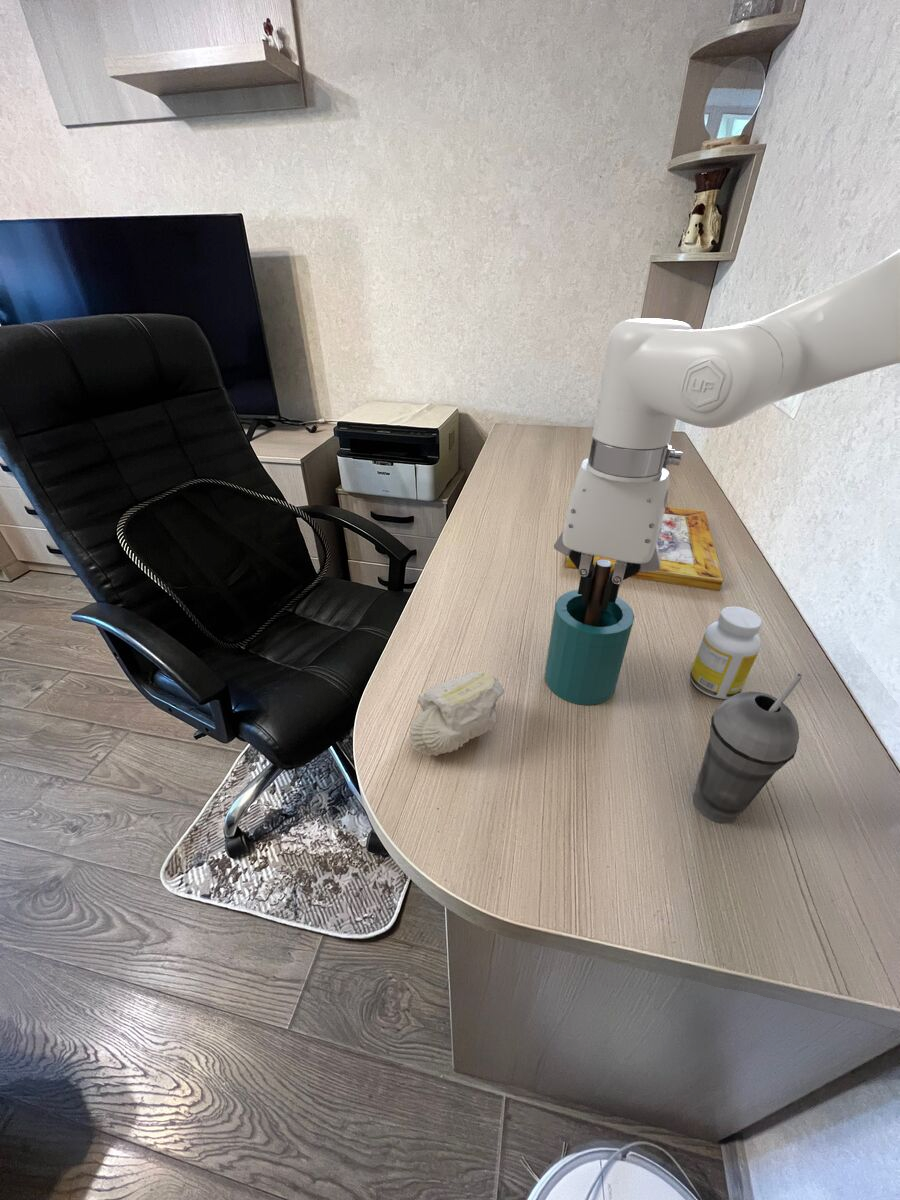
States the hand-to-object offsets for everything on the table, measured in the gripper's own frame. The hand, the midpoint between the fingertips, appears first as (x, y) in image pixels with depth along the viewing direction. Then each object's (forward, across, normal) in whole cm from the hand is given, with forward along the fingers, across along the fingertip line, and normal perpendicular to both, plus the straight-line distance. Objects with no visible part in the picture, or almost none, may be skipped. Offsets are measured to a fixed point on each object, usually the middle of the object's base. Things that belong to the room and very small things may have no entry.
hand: (595, 601), depth 62 cm
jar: (+13, 0, 0) cm, 13 cm away
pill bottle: (+14, -17, -7) cm, 23 cm away
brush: (+12, 0, 0) cm, 12 cm away
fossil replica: (+14, +12, +16) cm, 24 cm away
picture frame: (+14, -2, -46) cm, 48 cm away
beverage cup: (+14, -18, +13) cm, 26 cm away
